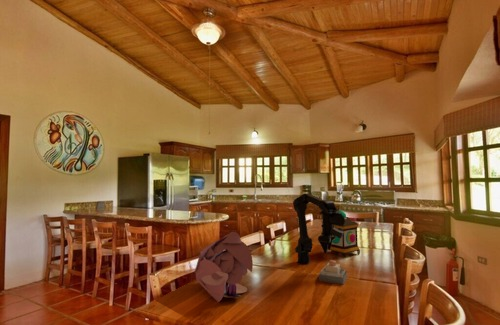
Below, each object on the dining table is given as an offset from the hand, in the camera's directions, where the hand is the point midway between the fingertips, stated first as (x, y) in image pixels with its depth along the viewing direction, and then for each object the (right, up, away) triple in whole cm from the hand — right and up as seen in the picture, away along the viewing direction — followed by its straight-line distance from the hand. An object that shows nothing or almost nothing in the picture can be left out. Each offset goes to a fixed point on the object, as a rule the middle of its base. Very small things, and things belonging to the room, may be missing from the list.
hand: (327, 251), depth 154 cm
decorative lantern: (+21, -15, +40) cm, 47 cm away
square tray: (0, -11, -11) cm, 15 cm away
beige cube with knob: (0, -8, -11) cm, 13 cm away
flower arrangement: (-55, -10, -26) cm, 61 cm away
